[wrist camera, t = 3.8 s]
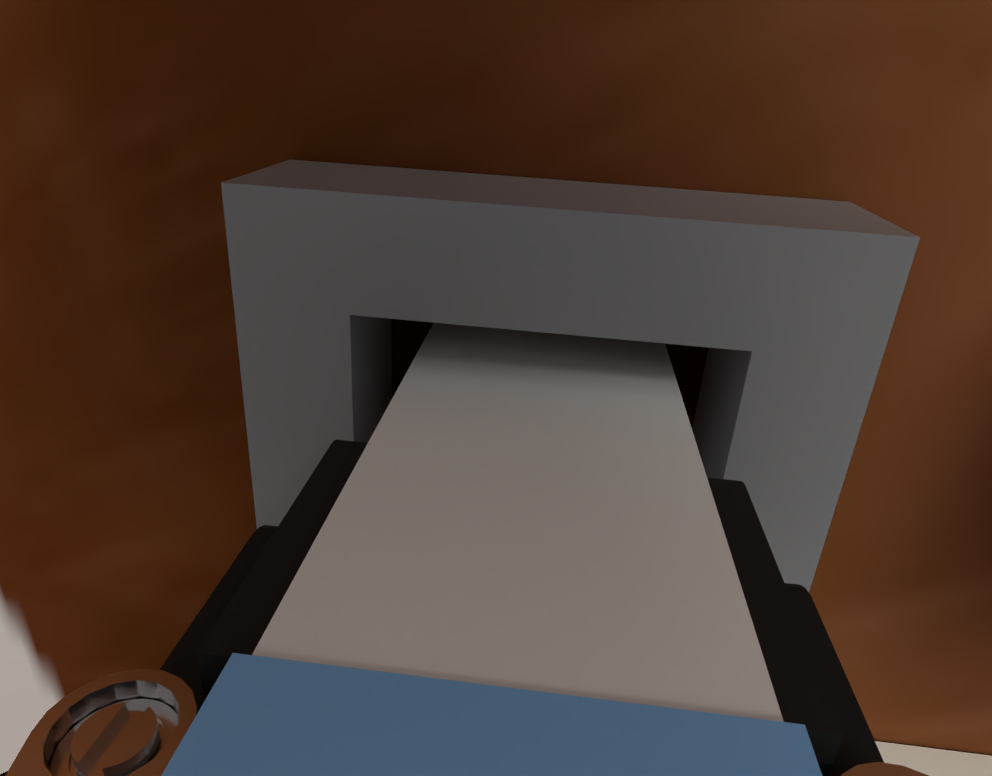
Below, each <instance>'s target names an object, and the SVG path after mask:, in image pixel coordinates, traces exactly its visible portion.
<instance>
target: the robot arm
mask: <svg viewBox="0 0 992 776" xmlns="http://www.w3.org/2000/svg"><path fill="white" fill-rule="evenodd" d="M367 444H368V443H366V442H356V441H347V440H334V441H333V442H332V443H331V445H330V446H329V448H328V450H327V451H326V453H325V454H324V456H323V457H322V459H321V460H320V462H319V464H318V465H317V467H316V468H315V470H314V471H313V473H312V474H311V476H310V478H309V479H308V481H307V482H306V484H305V485H304V487H303V488H302V490H301V492H300V493H299V495H298V496H297V498H296V499H295V501H294V502H293V504H292V506H291V507H290V509H289V510H288V512H287V513H286V515H285V516H284V518H283V520H282V521H281V523H280V524H279V526H270V525H263V526H261V527H259V528H258V529H257V530H256V531H255V532H254V533H253V535H252V536H251V538H250V539H249V540H248V542H247V543H246V545H245V546H244V548H243V549H242V551H241V552H240V554H239V555H238V556H237V558H236V559H235V561H234V562H233V564H232V565H231V567H230V568H229V570H228V571H227V572H226V574H225V575H224V577H223V578H222V580H221V581H220V583H219V584H218V586H217V587H216V589H215V590H214V591H213V593H212V594H211V596H210V597H209V599H208V600H207V602H206V603H205V605H204V606H203V607H202V609H201V610H200V612H199V613H198V615H197V616H196V618H195V619H194V621H193V622H192V624H191V625H190V626H189V628H188V629H187V631H186V632H185V634H184V635H183V637H182V638H181V640H180V641H179V642H178V644H177V645H176V647H175V648H174V650H173V651H172V653H171V654H170V656H169V657H168V658H167V660H166V661H165V663H164V664H163V666H162V667H161V669H160V670H153V669H143V668H141V669H134V670H126V671H119V672H115V673H112V674H109V675H106V676H103V677H101V678H98V679H95V680H92V681H90V682H88V683H87V684H85V685H83V686H81V687H79V688H78V689H76V690H74V691H72V692H71V693H69V694H67V695H66V696H65V697H64V698H63V699H61V700H60V701H59V702H58V703H57V704H55V705H54V706H53V707H52V708H51V709H49V710H48V711H47V712H46V714H45V715H44V716H43V718H42V719H41V720H40V721H39V723H38V724H37V725H36V727H35V728H34V729H33V730H32V732H31V734H30V735H29V737H28V738H27V740H26V742H25V744H24V745H23V747H22V749H21V750H20V752H19V754H18V755H17V757H16V759H15V761H14V762H13V764H12V766H11V767H10V769H9V771H7V772H5V773H3V774H0V776H161V775H162V773H163V772H164V770H165V768H166V767H167V765H168V763H169V761H170V760H171V758H172V756H173V755H174V753H175V751H176V749H177V748H178V746H179V744H180V743H181V741H182V739H183V737H184V736H185V734H186V732H187V730H188V729H189V727H190V725H191V724H192V722H193V720H194V718H195V717H196V715H197V713H198V712H199V710H200V708H201V706H202V705H203V703H204V701H205V700H206V698H207V696H208V694H209V693H210V691H211V689H212V687H213V686H214V684H215V682H216V681H217V679H218V677H219V675H220V674H221V672H222V670H223V669H224V667H225V665H226V663H227V662H228V660H229V658H230V657H231V655H232V653H239V654H247V655H252V654H253V652H254V650H255V648H256V647H257V645H258V643H259V641H260V639H261V637H262V636H263V634H264V632H265V630H266V628H267V626H268V625H269V623H270V621H271V619H272V617H273V615H274V614H275V612H276V610H277V608H278V606H279V605H280V603H281V601H282V599H283V597H284V595H285V594H286V592H287V590H288V588H289V586H290V584H291V583H292V581H293V579H294V577H295V575H296V573H297V572H298V570H299V568H300V566H301V564H302V562H303V561H304V559H305V557H306V555H307V553H308V552H309V550H310V548H311V546H312V544H313V542H314V541H315V539H316V537H317V535H318V533H319V531H320V530H321V528H322V526H323V524H324V522H325V520H326V519H327V517H328V515H329V513H330V511H331V509H332V508H333V506H334V504H335V502H336V500H337V499H338V497H339V495H340V493H341V491H342V489H343V488H344V486H345V484H346V482H347V480H348V478H349V477H350V475H351V473H352V471H353V469H354V467H355V466H356V464H357V462H358V460H359V458H360V456H361V455H362V453H363V451H364V449H365V447H366V446H367ZM707 479H708V482H709V485H710V488H711V492H712V495H713V498H714V501H715V504H716V508H717V511H718V514H719V517H720V520H721V523H722V527H723V530H724V533H725V536H726V539H727V543H728V546H729V549H730V552H731V555H732V559H733V562H734V565H735V568H736V571H737V574H738V578H739V581H740V584H741V587H742V590H743V594H744V597H745V600H746V603H747V606H748V609H749V613H750V616H751V619H752V622H753V625H754V629H755V632H756V635H757V638H758V641H759V645H760V648H761V651H762V654H763V657H764V660H765V664H766V667H767V670H768V673H769V676H770V680H771V683H772V686H773V689H774V692H775V695H776V699H777V702H778V705H779V708H780V711H781V715H782V718H783V721H784V722H788V723H796V724H804V725H805V727H806V729H807V732H808V735H809V738H810V741H811V744H812V747H813V750H814V753H815V756H816V759H817V761H818V764H819V767H820V770H821V773H822V776H929V775H926V774H924V773H921V772H918V771H916V770H913V769H911V768H908V767H905V766H902V765H896V764H889V763H884V761H883V759H882V756H881V754H880V752H879V749H878V747H877V745H876V743H875V740H874V738H873V736H872V734H871V731H870V729H869V727H868V724H867V722H866V720H865V718H864V715H863V713H862V711H861V709H860V706H859V704H858V702H857V700H856V697H855V695H854V693H853V690H852V688H851V686H850V684H849V681H848V679H847V677H846V675H845V672H844V670H843V668H842V665H841V663H840V661H839V659H838V656H837V654H836V652H835V650H834V647H833V645H832V643H831V641H830V638H829V636H828V634H827V631H826V629H825V627H824V625H823V622H822V620H821V618H820V616H819V613H818V611H817V609H816V606H815V604H814V602H813V600H812V597H811V596H810V594H809V592H808V591H807V589H806V588H805V587H803V586H801V585H798V584H789V583H784V581H783V578H782V576H781V573H780V571H779V568H778V566H777V563H776V561H775V558H774V556H773V553H772V551H771V548H770V546H769V543H768V541H767V538H766V536H765V533H764V531H763V528H762V526H761V523H760V521H759V518H758V516H757V513H756V511H755V508H754V506H753V503H752V501H751V498H750V496H749V493H748V491H747V488H746V486H745V484H744V482H742V481H737V480H727V479H717V478H708V477H707Z"/></svg>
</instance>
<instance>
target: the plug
mask: <svg viewBox="0 0 992 776" xmlns="http://www.w3.org/2000/svg"><path fill="white" fill-rule="evenodd" d="M161 776H822V773H821V770H820V767H819V764H818V761H817V759H816V756H815V753H814V750H813V747H812V744H811V741H810V738H809V735H808V732H807V729H806V727H805V725H804V724H796V723H788V722H784V721H783V718H782V715H781V711H780V708H779V705H778V702H777V699H776V695H775V692H774V689H773V686H772V683H771V680H770V676H769V673H768V670H767V667H766V664H765V660H764V657H763V654H762V651H761V648H760V645H759V641H758V638H757V635H756V632H755V629H754V625H753V622H752V619H751V616H750V613H749V609H748V606H747V603H746V600H745V597H744V594H743V590H742V587H741V584H740V581H739V578H738V574H737V571H736V568H735V565H734V562H733V559H732V555H731V552H730V549H729V546H728V543H727V539H726V536H725V533H724V530H723V527H722V523H721V520H720V517H719V514H718V511H717V508H716V504H715V501H714V498H713V495H712V492H711V488H710V485H709V482H708V479H707V476H706V473H705V469H704V466H703V463H702V460H701V457H700V453H699V450H698V447H697V444H696V441H695V437H694V434H693V431H692V428H691V425H690V422H689V418H688V415H687V412H686V409H685V406H684V402H683V399H682V396H681V393H680V390H679V387H678V383H677V380H676V377H675V374H674V371H673V367H672V364H671V361H670V358H669V355H668V351H667V348H666V345H665V343H654V342H643V341H632V340H621V339H610V338H598V337H587V336H576V335H565V334H554V333H543V332H532V331H521V330H510V329H499V328H488V327H477V326H466V325H455V324H444V323H433V325H432V327H431V329H430V330H429V332H428V334H427V336H426V338H425V340H424V341H423V343H422V345H421V347H420V349H419V350H418V352H417V354H416V356H415V358H414V360H413V361H412V363H411V365H410V367H409V369H408V371H407V372H406V374H405V376H404V378H403V380H402V382H401V383H400V385H399V387H398V389H397V391H396V393H395V394H394V396H393V398H392V400H391V402H390V403H389V405H388V407H387V409H386V411H385V413H384V414H383V416H382V418H381V420H380V422H379V424H378V425H377V427H376V429H375V431H374V433H373V435H372V436H371V438H370V440H369V442H368V444H367V446H366V447H365V449H364V451H363V453H362V455H361V456H360V458H359V460H358V462H357V464H356V466H355V467H354V469H353V471H352V473H351V475H350V477H349V478H348V480H347V482H346V484H345V486H344V488H343V489H342V491H341V493H340V495H339V497H338V499H337V500H336V502H335V504H334V506H333V508H332V509H331V511H330V513H329V515H328V517H327V519H326V520H325V522H324V524H323V526H322V528H321V530H320V531H319V533H318V535H317V537H316V539H315V541H314V542H313V544H312V546H311V548H310V550H309V552H308V553H307V555H306V557H305V559H304V561H303V562H302V564H301V566H300V568H299V570H298V572H297V573H296V575H295V577H294V579H293V581H292V583H291V584H290V586H289V588H288V590H287V592H286V594H285V595H284V597H283V599H282V601H281V603H280V605H279V606H278V608H277V610H276V612H275V614H274V615H273V617H272V619H271V621H270V623H269V625H268V626H267V628H266V630H265V632H264V634H263V636H262V637H261V639H260V641H259V643H258V645H257V647H256V648H255V650H254V652H253V654H252V655H247V654H239V653H232V655H231V657H230V658H229V660H228V662H227V663H226V665H225V667H224V669H223V670H222V672H221V674H220V675H219V677H218V679H217V681H216V682H215V684H214V686H213V687H212V689H211V691H210V693H209V694H208V696H207V698H206V700H205V701H204V703H203V705H202V706H201V708H200V710H199V712H198V713H197V715H196V717H195V718H194V720H193V722H192V724H191V725H190V727H189V729H188V730H187V732H186V734H185V736H184V737H183V739H182V741H181V743H180V744H179V746H178V748H177V749H176V751H175V753H174V755H173V756H172V758H171V760H170V761H169V763H168V765H167V767H166V768H165V770H164V772H163V773H162V775H161Z"/></svg>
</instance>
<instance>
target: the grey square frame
mask: <svg viewBox="0 0 992 776" xmlns="http://www.w3.org/2000/svg"><path fill="white" fill-rule="evenodd" d="M221 189H222V198H223V208H224V217H225V227H226V237H227V246H228V256H229V266H230V275H231V285H232V294H233V304H234V314H235V323H236V333H237V343H238V352H239V362H240V371H241V381H242V391H243V400H244V410H245V419H246V429H247V439H248V448H249V458H250V468H251V477H252V487H253V496H254V506H255V516H256V525H257V529H258V528H259V527H261V526H263V525H270V526H279V524H280V523H281V521H282V520H283V518H284V516H285V515H286V513H287V512H288V510H289V509H290V507H291V506H292V504H293V502H294V501H295V499H296V498H297V496H298V495H299V493H300V492H301V490H302V488H303V487H304V485H305V484H306V482H307V481H308V479H309V478H310V476H311V474H312V473H313V471H314V470H315V468H316V467H317V465H318V464H319V462H320V460H321V459H322V457H323V456H324V454H325V453H326V451H327V450H328V448H329V446H330V445H331V443H332V442H333V441H334V440H347V441H356V442H366V443H368V442H369V440H370V438H371V436H372V435H373V433H374V431H375V429H376V427H377V425H378V424H379V422H380V420H381V418H382V416H383V414H384V413H385V411H386V409H387V407H388V405H389V403H390V402H391V400H392V319H399V320H410V321H422V322H433V323H444V324H455V325H466V326H477V327H488V328H499V329H510V330H521V331H532V332H543V333H554V334H565V335H576V336H587V337H598V338H610V339H621V340H632V341H643V342H654V343H665V344H676V345H687V346H698V347H709V348H708V353H707V358H706V363H705V368H704V373H703V378H702V383H701V388H700V393H699V398H698V403H697V408H696V413H695V418H694V423H693V428H692V431H693V434H694V437H695V441H696V444H697V447H698V450H699V453H700V457H701V460H702V463H703V466H704V469H705V473H706V476H707V477H708V478H717V479H727V480H737V481H742V482H744V484H745V486H746V488H747V491H748V493H749V496H750V498H751V501H752V503H753V506H754V508H755V511H756V513H757V516H758V518H759V521H760V523H761V526H762V528H763V531H764V533H765V536H766V538H767V541H768V543H769V546H770V548H771V551H772V553H773V556H774V558H775V561H776V563H777V566H778V568H779V571H780V573H781V576H782V578H783V581H784V583H789V584H798V585H801V586H803V587H805V588H806V589H807V591H808V592H809V590H810V587H811V584H812V581H813V578H814V574H815V571H816V568H817V565H818V562H819V559H820V555H821V552H822V549H823V546H824V543H825V539H826V536H827V533H828V530H829V527H830V523H831V520H832V517H833V514H834V511H835V508H836V504H837V501H838V498H839V495H840V492H841V488H842V485H843V482H844V479H845V476H846V472H847V469H848V466H849V463H850V460H851V456H852V453H853V450H854V447H855V444H856V441H857V437H858V434H859V431H860V428H861V425H862V421H863V418H864V415H865V412H866V409H867V405H868V402H869V399H870V396H871V393H872V390H873V386H874V383H875V380H876V377H877V374H878V370H879V367H880V364H881V361H882V358H883V354H884V351H885V348H886V345H887V342H888V338H889V335H890V332H891V329H892V326H893V323H894V319H895V316H896V313H897V310H898V307H899V303H900V300H901V297H902V294H903V291H904V287H905V284H906V281H907V278H908V275H909V272H910V268H911V265H912V262H913V259H914V256H915V252H916V249H917V246H918V243H919V240H920V237H919V236H917V235H915V234H913V233H911V232H909V231H907V230H905V229H903V228H901V227H899V226H897V225H895V224H893V223H891V222H889V221H887V220H885V219H883V218H881V217H879V216H877V215H875V214H873V213H871V212H869V211H867V210H865V209H863V208H861V207H859V206H857V205H855V204H853V203H851V202H847V201H834V200H821V199H807V198H794V197H781V196H768V195H754V194H741V193H728V192H714V191H701V190H688V189H675V188H661V187H648V186H635V185H622V184H608V183H595V182H582V181H569V180H555V179H542V178H529V177H516V176H502V175H489V174H476V173H463V172H449V171H436V170H423V169H410V168H396V167H383V166H370V165H357V164H343V163H330V162H317V161H304V160H287V161H284V162H281V163H278V164H275V165H272V166H269V167H266V168H263V169H260V170H257V171H254V172H251V173H248V174H245V175H242V176H239V177H236V178H233V179H230V180H227V181H224V182H221Z"/></svg>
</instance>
